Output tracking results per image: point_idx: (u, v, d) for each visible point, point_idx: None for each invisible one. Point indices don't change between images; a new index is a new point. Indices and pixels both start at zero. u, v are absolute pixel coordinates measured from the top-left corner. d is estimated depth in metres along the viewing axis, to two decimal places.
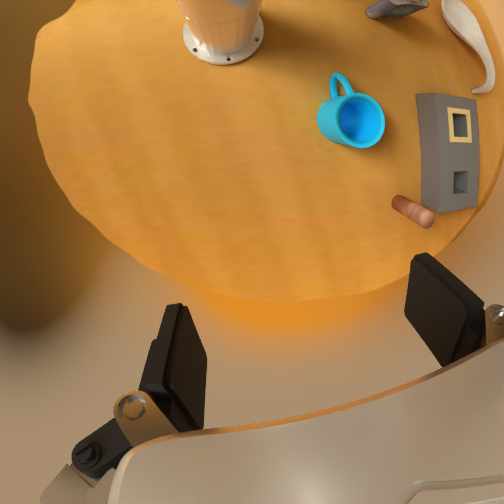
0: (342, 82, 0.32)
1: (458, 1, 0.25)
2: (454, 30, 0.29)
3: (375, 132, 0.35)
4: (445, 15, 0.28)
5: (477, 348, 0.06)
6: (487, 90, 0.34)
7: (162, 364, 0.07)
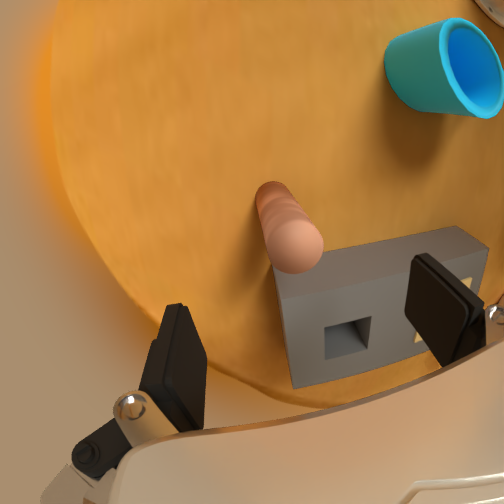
0: None
1: None
2: None
3: None
4: None
5: (477, 348, 0.06)
6: None
7: (162, 364, 0.07)
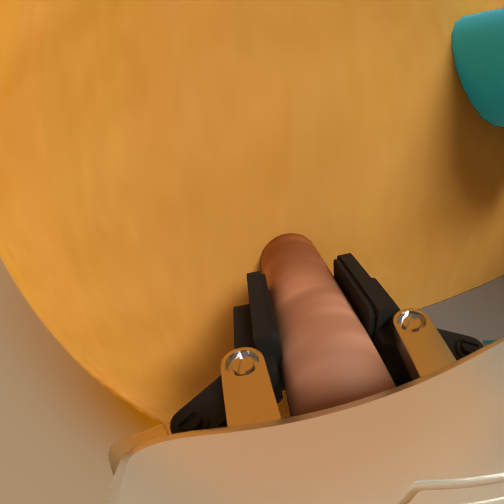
0: None
1: None
2: None
3: None
4: None
5: (386, 353, 0.07)
6: None
7: (264, 320, 0.08)
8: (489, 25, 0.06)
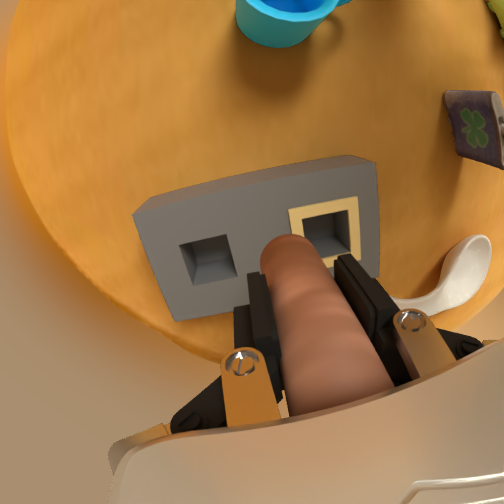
0: None
1: (484, 273, 0.33)
2: (458, 247, 0.30)
3: None
4: (475, 235, 0.30)
5: (386, 353, 0.07)
6: None
7: (264, 320, 0.08)
8: None
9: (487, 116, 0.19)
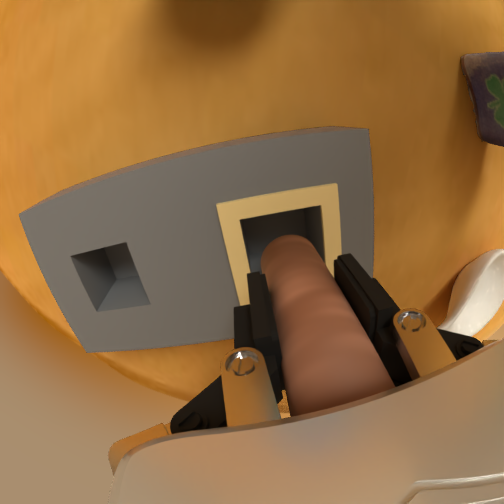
0: None
1: (501, 298, 0.24)
2: (477, 265, 0.21)
3: None
4: (498, 250, 0.21)
5: (386, 353, 0.07)
6: None
7: (265, 320, 0.08)
8: None
9: None
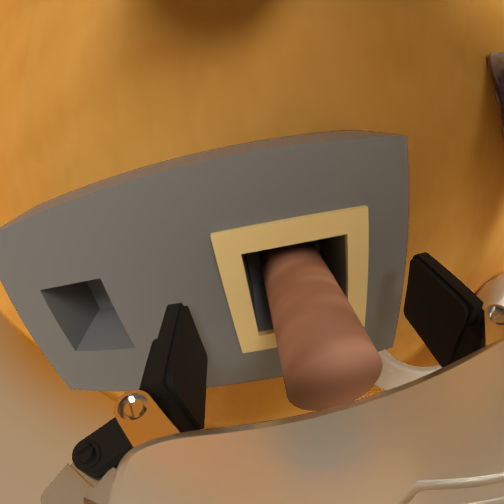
0: None
1: None
2: (498, 287, 0.18)
3: None
4: None
5: (476, 348, 0.06)
6: None
7: (163, 364, 0.07)
8: None
9: None
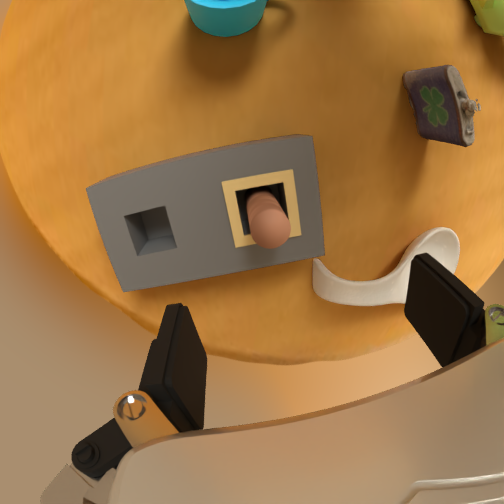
0: None
1: (451, 272, 0.35)
2: (419, 237, 0.32)
3: None
4: (439, 227, 0.31)
5: (477, 348, 0.06)
6: (325, 289, 0.33)
7: (162, 364, 0.07)
8: None
9: (445, 91, 0.20)
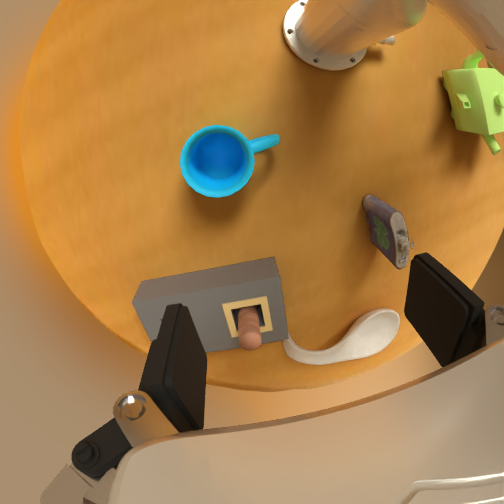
0: (266, 139, 0.30)
1: (392, 336, 0.50)
2: (363, 317, 0.47)
3: (205, 186, 0.31)
4: (380, 310, 0.46)
5: (477, 348, 0.06)
6: (289, 351, 0.48)
7: (162, 364, 0.07)
8: None
9: (388, 229, 0.35)
